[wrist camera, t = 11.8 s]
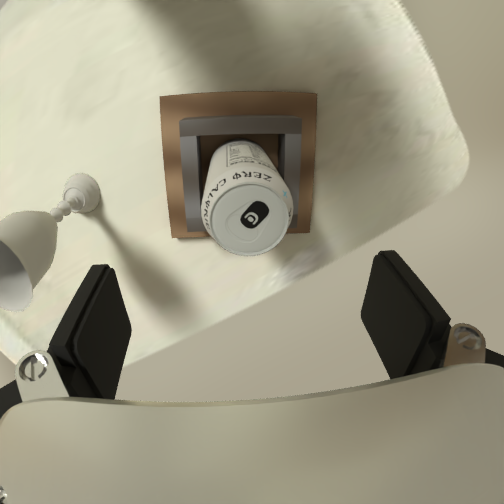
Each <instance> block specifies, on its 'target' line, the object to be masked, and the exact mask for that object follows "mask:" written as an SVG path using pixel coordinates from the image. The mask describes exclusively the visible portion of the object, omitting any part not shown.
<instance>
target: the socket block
mask: <svg viewBox="0 0 504 504" xmlns="http://www.w3.org/2000/svg"><path fill="white" fill-rule="evenodd" d="M160 114H161V131H162V146H163V159H164V170H165V181H166V191H167V201H168V210H169V218H170V227H171V235H172V238H183V237H205V236H211V235H210V234H209V233H208V232H207V230H206V228H205V226H204V224H203V220H202V216H201V205H202V199H203V194H204V190H205V185H206V180H207V176H208V171H209V167H210V162H211V158H212V156H213V154H214V152H215V151H216V149H217V148H218V147H219V146H220V145H221V144H223V143H225V142H226V141H229V140H231V139H236V138H244V139H249V140H251V141H254V142H255V143H257V144H258V145H260V146H261V147H262V148H263V150H264V151H265V153H266V154H267V156H268V157H269V159H270V160H271V162H272V163H273V165H274V167H275V168H276V170H277V171H278V173H279V174H280V176H281V178H282V179H283V181H284V182H285V184H286V186H287V187H288V189H289V190H290V193H291V196H292V200H293V216H292V219H291V223H290V225H289V227H288V228H287V232H286V233H310V221H311V208H312V194H313V178H314V161H315V141H316V114H317V94H316V93H300V92H274V91H235V92H209V93H193V94H180V95H170V96H160Z"/></svg>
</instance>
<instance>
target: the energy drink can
mask: <svg viewBox="0 0 504 504" xmlns="http://www.w3.org/2000/svg"><path fill="white" fill-rule="evenodd" d="M201 216H202V220H203V224H204V226H205V228H206V230H207V232H208V233H209V234H210V235H211V237H212V238H213V239H214V240H215V241H217V243H218V244H219V245H220V246H221V247H222V248H224V249H225V250H227V251H229V252H230V253H233V254H236V255H241V256H255V255H260V254H263V253H266V252H268V251H269V250H271V249H273V248H274V247H275V246H276V245H277V244H279V242H280V241H281V240H282V239H283V237H284V235H285V233H286V232H287V228H288V227H289V225H290V223H291V219H292V216H293V200H292V196H291V193H290V190H289V189H288V187H287V186H286V184H285V182H284V181H283V179H282V178H281V176H280V174H279V173H278V171H277V170H276V168H275V167H274V165H273V163H272V162H271V160H270V159H269V157H268V156H267V154H266V153H265V151H264V150H263V148H262V147H261V146H260V145H258V144H257V143H255V142H254V141H251V140H249V139H244V138H236V139H231V140H229V141H226V142H225V143H223V144H221V145H220V146H219V147H218V148H217V149H216V151H215V152H214V154H213V156H212V158H211V162H210V167H209V171H208V176H207V180H206V185H205V190H204V194H203V199H202V205H201Z"/></svg>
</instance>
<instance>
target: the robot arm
mask: <svg viewBox="0 0 504 504" xmlns="http://www.w3.org/2000/svg"><path fill="white" fill-rule="evenodd" d="M361 319H362V322H363V323H364V326H365V327H366V330H367V331H368V333H369V335H370V337H371V340H372V341H373V344H374V346H375V347H376V350H377V352H378V354H379V356H380V358H381V360H382V362H383V364H384V366H385V368H386V370H387V373H388V375H389V377H390V380H386V381H381V382H376V383H371V384H367V385H361V386H356V387H350V388H344V389H338V390H332V391H326V392H318V393H311V394H304V395H295V396H287V397H277V398H266V399H253V400H237V401H214V402H152V401H129V400H114V399H115V395H116V390H117V386H118V382H119V378H120V374H121V370H122V366H123V363H124V359H125V355H126V351H127V348H128V344H129V340H130V337H131V331H132V330H131V323H130V320H129V317H128V314H127V311H126V308H125V305H124V301H123V298H122V295H121V291H120V288H119V284H118V281H117V277H116V274H115V270H114V269H113V268H110V267H109V265H108V264H101V265H92V267H91V268H90V270H89V271H88V273H87V275H86V277H85V278H84V280H83V282H82V283H81V285H80V287H79V289H78V290H77V292H76V294H75V296H74V297H73V299H72V301H71V303H70V305H69V307H68V308H67V310H66V312H65V314H64V316H63V318H62V320H61V322H60V324H59V326H58V327H57V329H56V331H55V333H54V335H53V337H52V339H51V341H50V344H49V348H48V350H47V352H46V351H41V350H37V351H32V352H30V353H28V354H26V355H25V356H23V357H22V358H21V359H20V360H19V362H18V364H17V365H16V369H15V377H16V380H14V381H12V382H11V383H9V384H7V385H6V386H4V387H2V388H1V389H0V504H504V356H503V355H501V354H498V353H496V352H493V351H491V350H489V349H486V342H485V338H484V336H483V334H482V333H481V332H480V331H479V330H478V329H477V328H475V327H474V326H471V325H469V324H465V323H459V324H455V325H454V326H453V327H451V326H450V324H449V322H450V320H451V318H450V317H449V316H448V314H447V313H446V312H445V310H444V309H443V308H442V307H441V305H440V304H439V303H438V302H437V300H436V299H435V298H434V297H433V295H432V294H431V293H430V292H429V290H428V289H427V288H426V287H425V285H424V284H423V283H422V282H421V280H420V279H419V278H418V277H417V276H416V274H415V273H414V272H413V271H412V270H411V268H410V267H409V266H408V265H407V264H406V263H405V261H403V259H402V258H401V257H400V256H399V255H398V254H397V252H395V251H394V250H389V251H380V252H379V253H378V255H376V256H375V257H374V259H373V264H372V268H371V273H370V277H369V282H368V286H367V290H366V294H365V298H364V302H363V306H362V310H361Z"/></svg>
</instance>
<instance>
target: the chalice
mask: <svg viewBox="0 0 504 504" xmlns="http://www.w3.org/2000/svg"><path fill="white" fill-rule="evenodd" d="M99 200H100V189H99V187H98V184H97V183H96V181H95V180H94V179H93V178H92V177H90V176H89V175H87V174H84V173H77V174H75V175H72V176H71V177H70V178H69V179H68V180H67V182H66V184H65V188H64V191H63V201H60V202H59V203H58V208H52V209H51V211H50V214H49V213H47V212H42V211H22V212H16V213H12V214H10V215H8V216H6V217H5V218H4V219H2V220H1V221H0V308H2V309H4V310H7V311H11V312H20V311H24V310H25V309H26V308H28V307H29V306H30V303H31V300H32V298H33V289H34V288H35V286H36V285H37V284H38V282H39V281H40V280H41V278H42V277H43V276H44V274H45V273H46V272H47V271H48V269H49V268H50V266H51V264H52V262H53V258H54V254H55V250H56V242H57V228H58V227H57V223H56V222H61V221H62V219H63V215H64V216H67V215H69V214H70V213H71V212H74V213H87V212H90V211H92V210H94V209H95V208H96V207H97V205H98V203H99Z"/></svg>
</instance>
